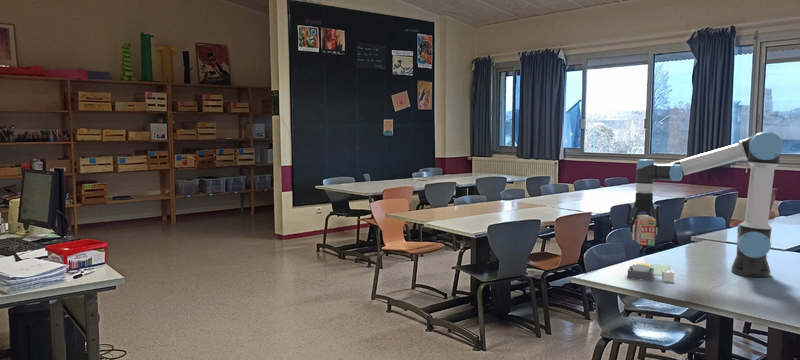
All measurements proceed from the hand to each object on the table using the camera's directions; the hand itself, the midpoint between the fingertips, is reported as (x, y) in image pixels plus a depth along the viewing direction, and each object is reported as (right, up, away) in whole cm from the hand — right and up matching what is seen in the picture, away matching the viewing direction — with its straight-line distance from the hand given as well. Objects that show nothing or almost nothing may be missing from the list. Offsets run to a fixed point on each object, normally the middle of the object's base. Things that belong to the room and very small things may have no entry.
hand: (642, 240), depth 268 cm
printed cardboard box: (0, -1, 0) cm, 1 cm away
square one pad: (+7, -14, -3) cm, 16 cm away
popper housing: (-7, -15, -15) cm, 23 cm away
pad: (0, -14, +1) cm, 14 cm away
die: (+2, -16, -21) cm, 26 cm away
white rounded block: (-7, -14, -15) cm, 22 cm away
